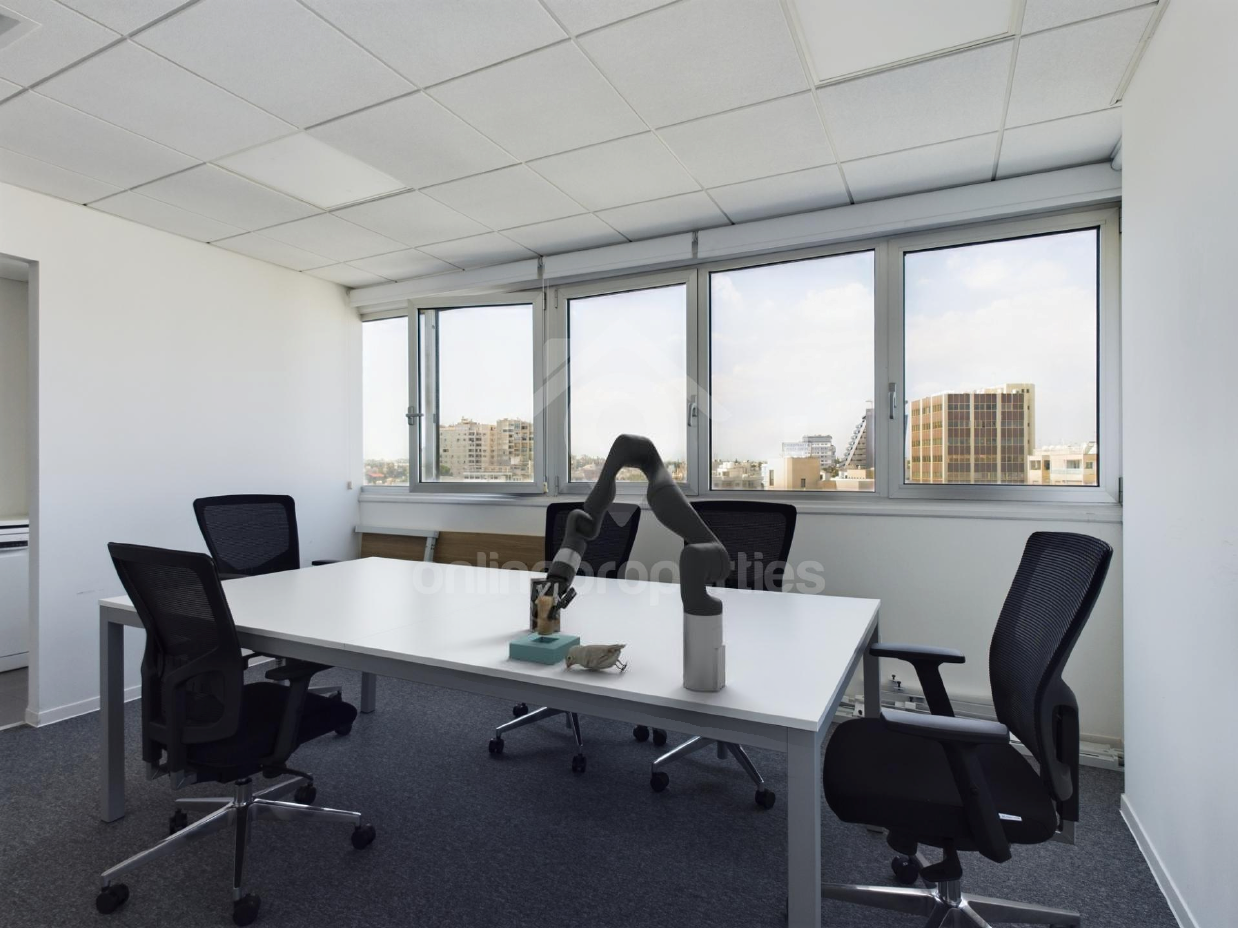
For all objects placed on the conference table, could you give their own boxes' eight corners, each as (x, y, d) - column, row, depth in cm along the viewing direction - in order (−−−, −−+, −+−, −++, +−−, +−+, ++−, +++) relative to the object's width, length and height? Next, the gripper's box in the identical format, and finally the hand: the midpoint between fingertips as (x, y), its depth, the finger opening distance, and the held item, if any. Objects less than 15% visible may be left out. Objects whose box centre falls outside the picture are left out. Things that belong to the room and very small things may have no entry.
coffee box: (532, 633, 201) (532, 581, 201) (529, 628, 207) (529, 577, 208) (561, 631, 204) (561, 579, 204) (557, 626, 210) (557, 576, 210)
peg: (555, 632, 179) (556, 596, 179) (547, 636, 175) (547, 599, 175) (542, 631, 180) (543, 595, 181) (534, 634, 177) (534, 597, 177)
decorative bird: (570, 665, 168) (570, 636, 169) (629, 671, 164) (629, 641, 164) (562, 671, 163) (562, 641, 163) (623, 677, 159) (623, 647, 159)
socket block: (580, 651, 181) (580, 636, 181) (553, 664, 168) (553, 649, 168) (537, 645, 187) (537, 631, 187) (509, 657, 174) (509, 642, 174)
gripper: (538, 558, 188) (514, 608, 177) (581, 561, 181) (559, 613, 170) (547, 574, 192) (524, 623, 181) (590, 577, 186) (569, 629, 175)
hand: (541, 618), depth 176 cm, fingers closed on peg, 4 cm apart
